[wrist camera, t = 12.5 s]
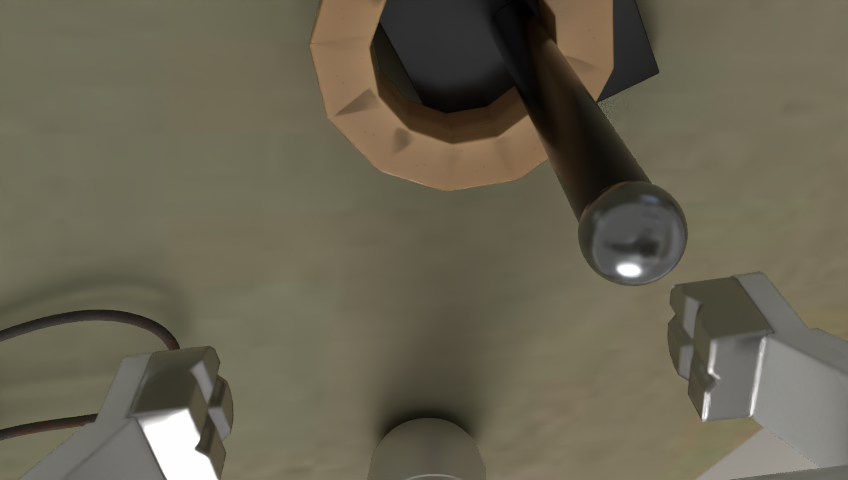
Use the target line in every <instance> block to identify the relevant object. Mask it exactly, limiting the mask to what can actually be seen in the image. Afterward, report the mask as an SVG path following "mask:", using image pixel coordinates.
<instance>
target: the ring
mask: <svg viewBox="0 0 848 480" xmlns="http://www.w3.org/2000/svg"><path fill="white" fill-rule="evenodd" d="M385 3H386V0H320V3H319V7H318V10H317V13H316V16H315V20H314V25H313V29H312V33H311V37H310V43H309V45H310V49H311V53H312V58H313V62H314V66H315V70H316V74H317V78H318V82H319V86H320V90H321V94H322V98H323V102H324V106H325V111H326V115H327V117H328V118H329V120H330V121H331V122H332V123H333V124H334V125H335V126H336V127H337V128H338V129H339V130H340V131H341V132H342V134H343V135H344V136H345V137H346V138H347V139H348V140H349V141H350V142H351V143H352V144H353V145H354V146H355V147H356V148H357V149H358V150H359V151H360V152H361V153H362V154H363V155H364V156H365V157H366V158H367V159H368V161H369V162H370V163H371V164H372V165H373V166H374V167H375V168H376V169H378V170H379V171H381V172H384V173H388V174H391V175H394V176H397V177H400V178H404V179H407V180H410V181H413V182H416V183H419V184H423V185H426V186H429V187H432V188H435V189H439V190H442V191H453V190H459V189H465V188H471V187H477V186H483V185H489V184H496V183H502V182H508V181H514V180H516V179H517V180H518V179H520V178H521V177H522V176H524V175H525V174H527V173H528V172H529V171H531V170H532V169H534V168H535V167H536V166H538V165H539V164H541V163H542V162H544V161H545V160H546V159H548V156H547V154H546V152H545V149H544V147H543V145H542V143H541V141H540V139H539V136H538V134H537V132H536V130H535V128H534V126H533V123H532V121H531V119H530V117H529V115H528V113H527V111H526V108H525V106H524V104H523V102H522V100H521V98H520V95H519V93H518V91H517V89H516V87H515V86H514V87H512V88H511V89H510V90H508V91H507V92H506V93H504V94H503V95H502V96H500V97H499V98H498V99H497V100H495V101H494V102H493V103H491V104H490V105H489V106H487V107H481V108H475V109H470V110H464V111H458V112H452V113H444V112H441V111H438V110H435V109H432V108H429V107H426V106H423V105H420V104H417V103H414V102H412V101H409V100H406V99H405V97H404V96H403V95H402V94H401V93H400V92H399V91H398V90H397V88H396V87H395V86H394V85H393V84H392V83H391V82H390V80H389V79H388V78H387V77H386V76H385V75H384V74H383V72H382V71H381V70H380V69H379V68H378V63H377V57H376V52H375V47H374V42H373V37H374V34H375V31H376V28H377V26H378V23H379V20H380V17H381V14H382V11H383V8H384V6H385ZM539 14H540V22H541V23H542V25H543V26H544V28H545V29H546V31H547V32H548V34H549V35H550V36H551V38H552V39H553V41H554V42H555V44H556V45H557V47H558V48H559V50H560V51H561V52H562V54H563V55H564V57H565V58H566V60H567V61H568V63H569V64H570V65H571V67H572V68H573V70H574V71H575V73H576V74H577V76H578V77H579V78H580V80H581V81H582V83H583V84H584V86H585V87H586V89H587V90H588V92H589V93H590V94H591V96H592V97H593V99H594V100H595V102H596V101H597V99H598V97H599V95H600V93H601V91H602V90H603V88H604V86H605V84H606V82H607V80H608V78H609V76H610V75H611V73H612V70H613V69H614V53H613V0H539Z"/></svg>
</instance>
